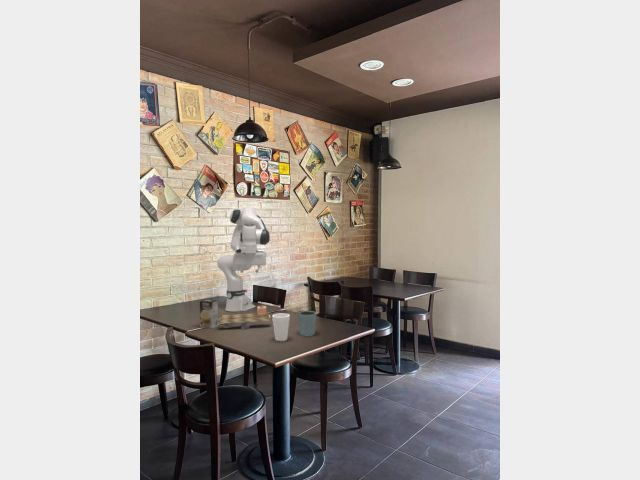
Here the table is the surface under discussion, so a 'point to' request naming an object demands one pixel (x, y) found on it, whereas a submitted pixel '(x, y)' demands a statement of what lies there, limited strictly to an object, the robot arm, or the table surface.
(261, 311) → the rider
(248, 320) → the beam
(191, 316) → the table surface
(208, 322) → the coffee box
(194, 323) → the table surface
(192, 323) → the table surface
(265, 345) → the table surface
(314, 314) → the teal cup
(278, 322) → the foam cup
